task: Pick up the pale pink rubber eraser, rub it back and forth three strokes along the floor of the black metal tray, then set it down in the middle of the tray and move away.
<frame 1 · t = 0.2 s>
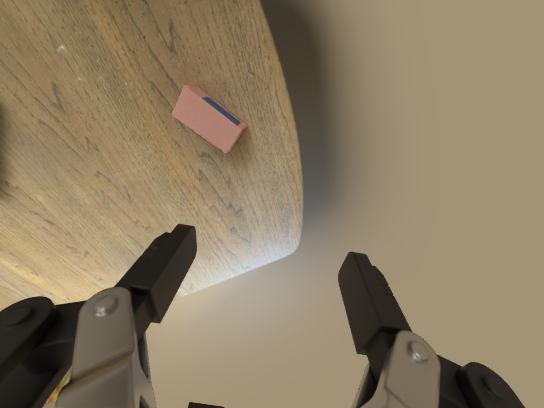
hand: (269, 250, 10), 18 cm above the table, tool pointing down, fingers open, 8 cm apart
eraser: (215, 118, 24), on the table
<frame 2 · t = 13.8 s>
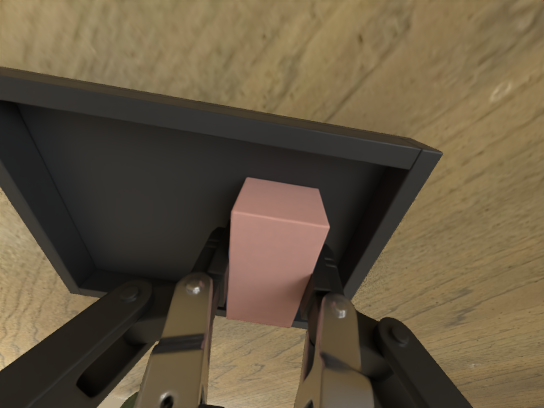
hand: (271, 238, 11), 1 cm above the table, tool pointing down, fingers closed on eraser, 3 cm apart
vegetable: (146, 383, 28), on the table
eraser: (271, 237, 11), point 1 cm above the table, touching gripper
tray: (211, 220, 12), on the table
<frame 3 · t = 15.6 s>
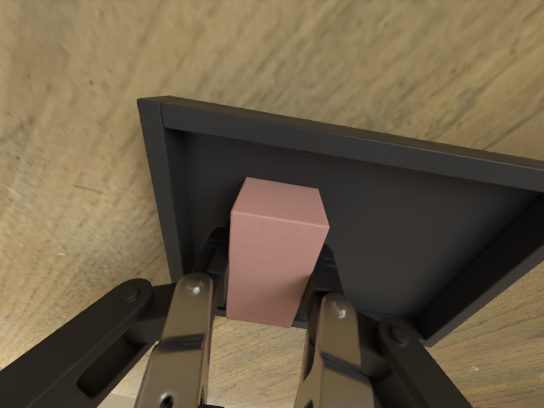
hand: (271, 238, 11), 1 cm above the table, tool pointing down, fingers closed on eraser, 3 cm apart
eraser: (271, 237, 11), point 1 cm above the table, touching gripper
tray: (328, 239, 12), on the table
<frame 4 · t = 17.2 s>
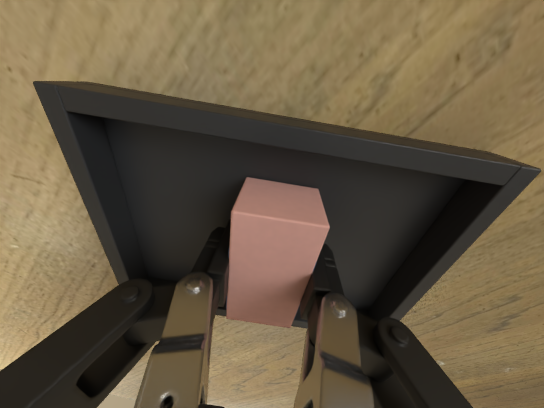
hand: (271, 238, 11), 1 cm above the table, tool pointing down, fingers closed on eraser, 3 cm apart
eraser: (271, 237, 11), point 1 cm above the table, touching gripper
tray: (271, 230, 12), on the table
when the fingers open (1 cm above the table, at t = 22.0 s): eraser stays where it is, resting on tray.
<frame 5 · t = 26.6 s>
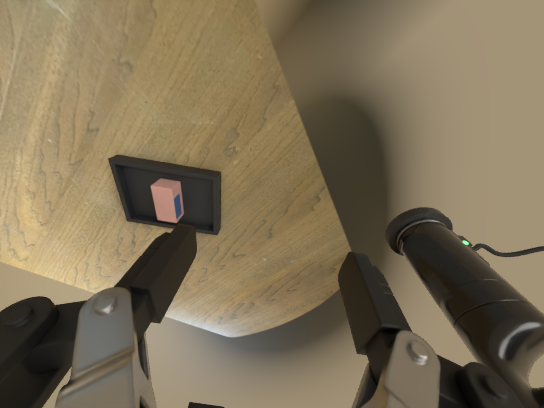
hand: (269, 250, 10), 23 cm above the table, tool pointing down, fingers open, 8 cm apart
eraser: (172, 196, 36), point 1 cm above the table, touching tray
tray: (174, 195, 36), on the table
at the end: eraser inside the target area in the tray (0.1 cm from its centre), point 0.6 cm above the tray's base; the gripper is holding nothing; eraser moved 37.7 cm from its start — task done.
